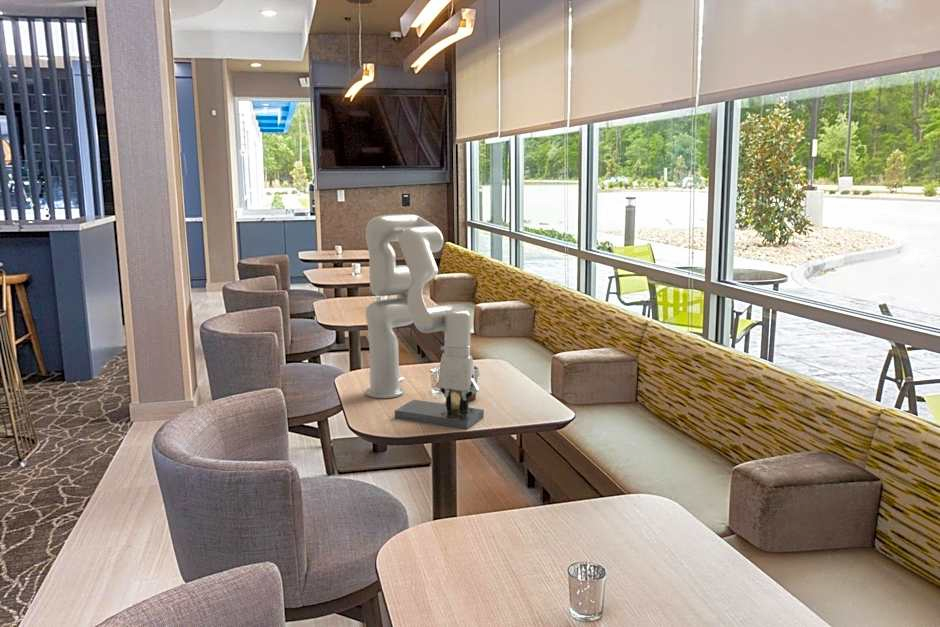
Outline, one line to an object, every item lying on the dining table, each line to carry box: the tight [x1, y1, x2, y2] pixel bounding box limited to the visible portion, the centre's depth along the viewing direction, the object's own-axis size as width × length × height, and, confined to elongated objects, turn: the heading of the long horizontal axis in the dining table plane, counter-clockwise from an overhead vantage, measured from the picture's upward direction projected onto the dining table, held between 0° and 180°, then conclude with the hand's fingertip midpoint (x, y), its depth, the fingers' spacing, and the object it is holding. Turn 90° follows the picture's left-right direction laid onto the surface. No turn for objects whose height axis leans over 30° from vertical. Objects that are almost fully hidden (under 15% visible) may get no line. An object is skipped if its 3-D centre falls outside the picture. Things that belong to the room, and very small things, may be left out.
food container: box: [468, 365, 481, 403], centre depth 250 cm, size 12×6×10 cm, turn 131°
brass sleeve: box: [450, 390, 464, 416], centre depth 230 cm, size 4×4×8 cm
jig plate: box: [394, 399, 485, 430], centre depth 233 cm, size 12×24×2 cm, turn 65°
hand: (457, 410), depth 231 cm, fingers closed on brass sleeve, 3 cm apart
